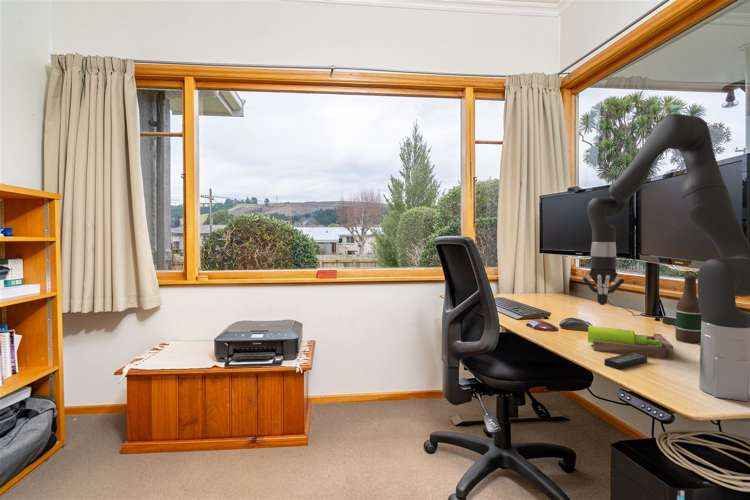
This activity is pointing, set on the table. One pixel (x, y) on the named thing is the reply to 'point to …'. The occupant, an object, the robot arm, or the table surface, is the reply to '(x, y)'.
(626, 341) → the soap dispenser
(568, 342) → the table surface
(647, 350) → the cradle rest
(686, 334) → the beer bottle
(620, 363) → the multiport hub
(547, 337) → the table surface
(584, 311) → the table surface
